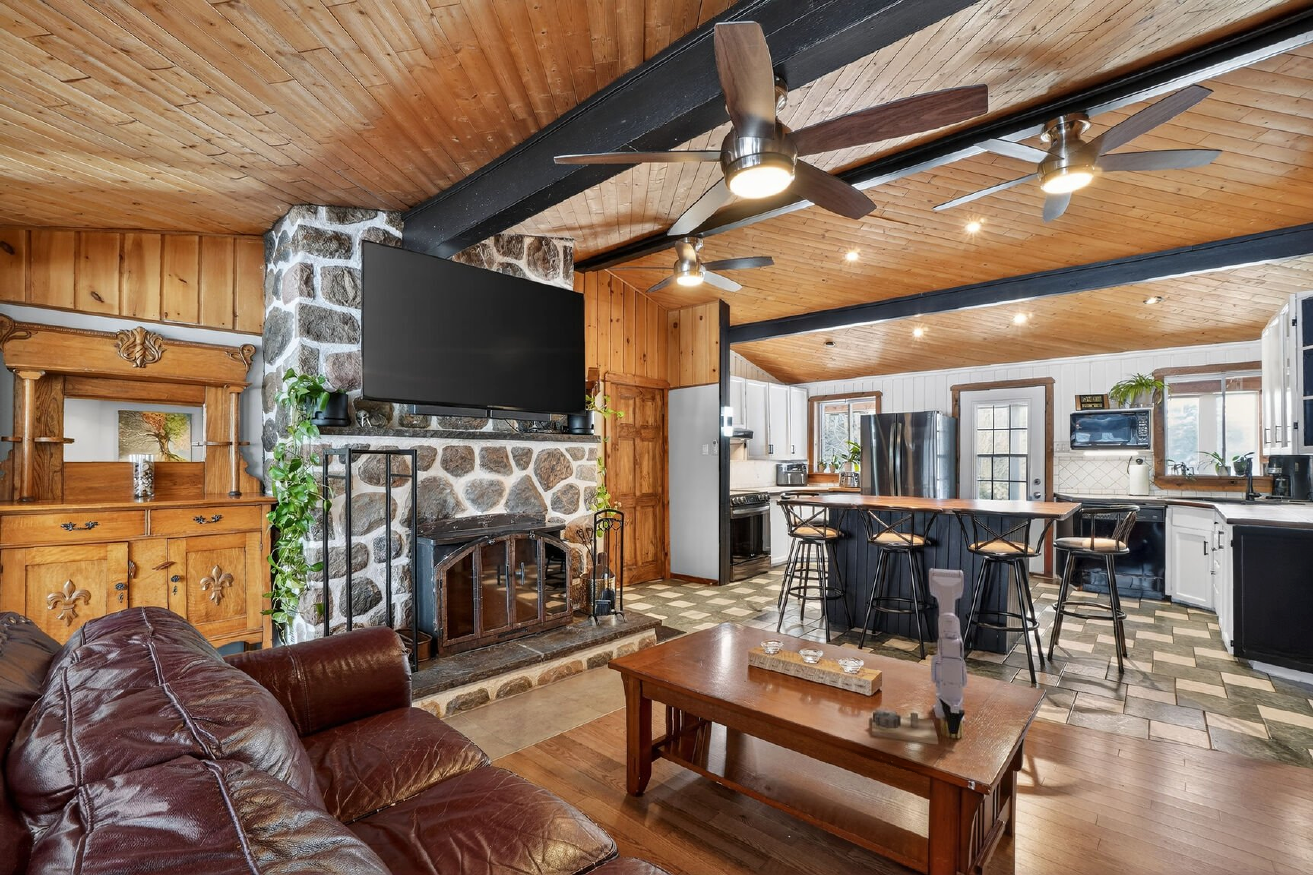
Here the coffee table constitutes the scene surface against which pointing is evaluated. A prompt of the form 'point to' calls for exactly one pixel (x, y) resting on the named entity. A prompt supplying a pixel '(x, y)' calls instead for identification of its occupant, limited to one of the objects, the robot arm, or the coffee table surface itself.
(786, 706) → the coffee table surface
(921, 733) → the gear board
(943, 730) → the brass gear
